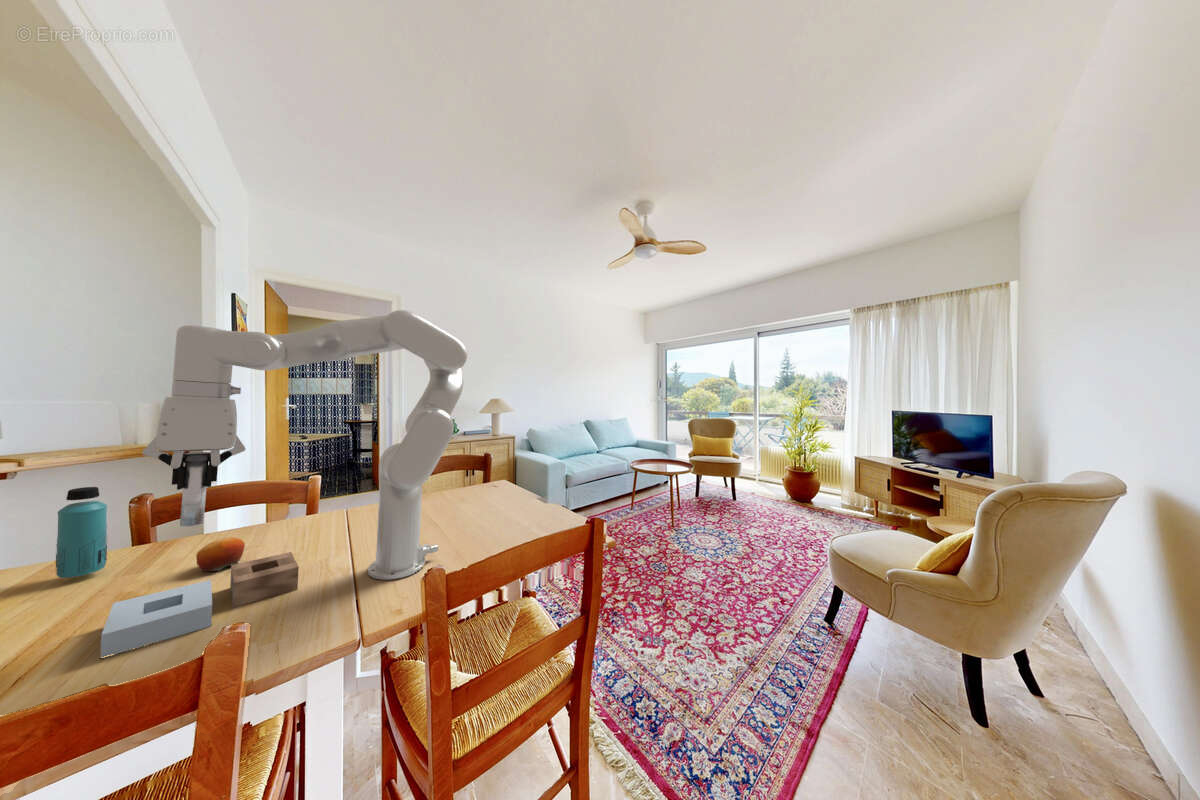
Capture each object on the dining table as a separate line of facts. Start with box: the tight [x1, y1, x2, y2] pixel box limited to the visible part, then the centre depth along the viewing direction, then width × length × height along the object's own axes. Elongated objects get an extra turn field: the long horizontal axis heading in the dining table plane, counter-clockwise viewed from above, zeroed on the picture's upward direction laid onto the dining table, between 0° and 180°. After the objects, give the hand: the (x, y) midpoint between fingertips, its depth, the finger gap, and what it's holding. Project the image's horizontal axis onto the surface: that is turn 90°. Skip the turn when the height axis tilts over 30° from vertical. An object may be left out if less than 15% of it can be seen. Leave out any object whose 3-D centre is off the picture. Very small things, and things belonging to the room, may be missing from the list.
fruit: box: [196, 536, 246, 572], centre depth 87 cm, size 8×8×8 cm
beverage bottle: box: [54, 486, 109, 579], centre depth 79 cm, size 6×7×20 cm
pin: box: [179, 451, 211, 527], centre depth 68 cm, size 4×4×14 cm
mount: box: [229, 551, 299, 609], centre depth 78 cm, size 10×10×5 cm
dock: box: [99, 579, 213, 658], centre depth 65 cm, size 12×12×4 cm
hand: (194, 485), depth 68 cm, fingers closed on pin, 3 cm apart
